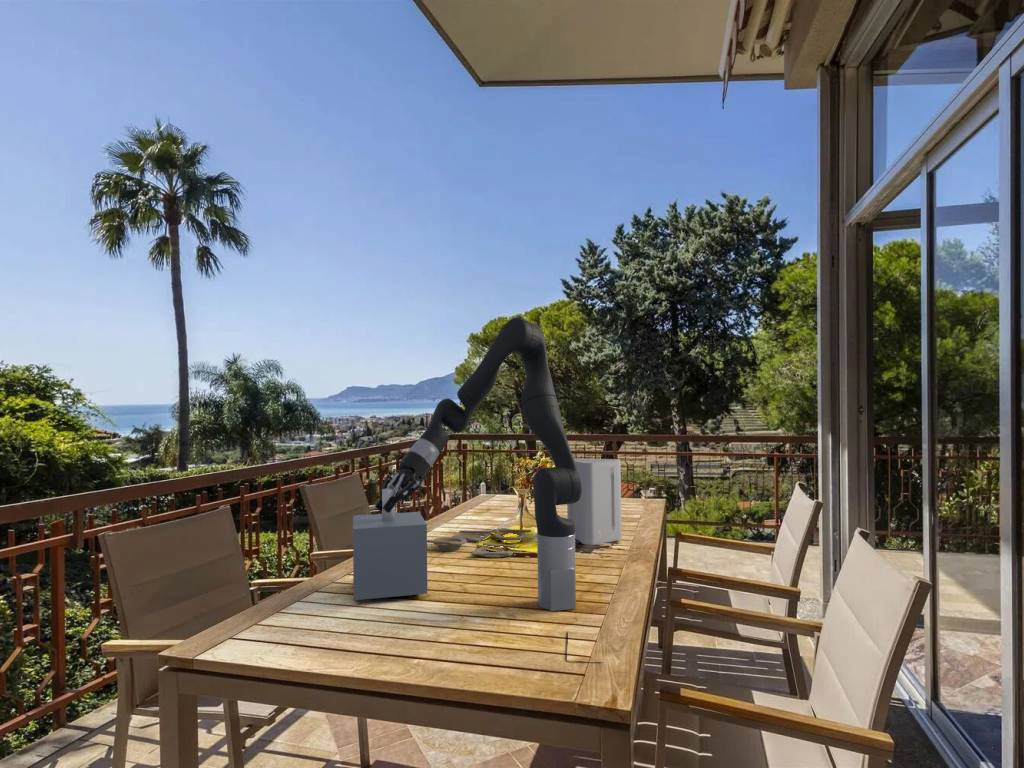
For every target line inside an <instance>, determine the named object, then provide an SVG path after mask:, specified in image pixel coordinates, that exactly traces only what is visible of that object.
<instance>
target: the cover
mask: <svg viewBox="0 0 1024 768" xmlns="http://www.w3.org/2000/svg"><path fill="white" fill-rule="evenodd" d="M394 491H395V488H394V489H392V488H388V489H382V493H381V494H382V495H381V497H382V511H381V513H379V514H378V513H375V514H358V515H353V517H352V553H353V554H352V559H353V563H352V564H353V566H352V567H353V569H352V570H353V572H352V575H353V580H352V583H353V584H352V585H353V586H352V588H353V590H352V591H353V595H352V596H353V601H360V600H371V599H372V600H373V599H383V598H394V597H404V596H414V595H425V594H426V595H427V594H428V543H427V540H428V524H427V522H426V520H425V519H424V517H423V516H422V514H421V512H420V511H415V512H414V511H412V512H411V511H410V512H396V511H395V509H396V508H395V506H396V505H395V506H394V507H393V509H392V510H391V511H390V512H389V513H388V512H386V511H385V510H384V509H383V506H384V505H385V504H386V502H387V501H388V500H389V498H390V497H393V496H392V495H393V493H394Z"/></svg>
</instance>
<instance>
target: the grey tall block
mask: <svg viewBox="0 0 1024 768" xmlns="http://www.w3.org/2000/svg"><path fill="white" fill-rule="evenodd" d="M574 461H575V463H576V466H577V469H578V472H579V475H580V479H581V485H582V493H581V497H580V499H579V501H578V502H576V503H572V504H566V505H567V507H566V508H567V519H570V520H572V521H573V522H574V524H575V539H577V540H579V541H580V542H581V544H583V545H585V546H595V545H601V544H605V543H611V542H614V541H615V542H616V541H620V540H621V539H622V537H623V536H622V535H623V534H622V488H621V486H622V484H621V483H622V480H621V478H622V476H621V475H622V473H621V459H620V458H619V459H618V458H574ZM580 542H579V543H580Z"/></svg>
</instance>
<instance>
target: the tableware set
mask: <svg viewBox="0 0 1024 768" xmlns="http://www.w3.org/2000/svg"><path fill="white" fill-rule="evenodd" d="M492 531H493V530H488V529H486V530H462V529H461V530H459V531H458V533H456V534H454V535H451V536H445V537H442V536H441V537H437V538H435V539H427V544H428V543H429V544H433V545H436V546H437V547H438V549H439V550H440V551H442V552H455V551H458V550H460V549H461V548H462V545H465V544H466V543H467V542H477V543H479V542H478V541H480V542H482V541H481V539H485V538H487V537H488V536H489V534H491V533H492ZM508 533H513V534H517V535H519V536H517V537H504V536H503V535H505V534H508ZM528 533H532V529H511V528H498V531H497V532H496V533H495V534H494V537H495V538H496V539H499V540H500V539H501V540H520V539H522V540H523V539H525V538H527V537H528ZM479 536H484V537H482V538H478V537H479ZM484 545H487V546H494V547H500V546H503V547H510V548H513V549H516V548H517V546H516V545H514V544H505V543H502V544H501V543H492V542H482V546H480V547H478V548H475V549H473V550H472V553H471V555H474V556H478V557H482V558H483V557H484V558H491V559H492V558H493V559H494V558H495V559H496V558H507V557H510V556H513V555H514V554H513V552H489V551H486V548H485V547H486V546H484ZM512 554H513V555H512Z"/></svg>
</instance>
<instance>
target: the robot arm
mask: <svg viewBox="0 0 1024 768" xmlns="http://www.w3.org/2000/svg"><path fill="white" fill-rule="evenodd" d="M512 353H515V354H518V355H520V358H521V359H522V363H523V366H524V371H525V381H524V384H523V387H522V388H523V389H522V391H521V407H522V410H523V414H524V415H523V416H524V419H525V422H526V424H527V427H528V428H529V429H530V431H531V432H532V433H533V435H535V437H536V438H537V439H538V440H539V442H540V443H542V445H543V446H544V447H545V448H546V450H547V451H548V452H549V454H550V456H551V459H552V461H553V464H554V466H552V467H551V466H549V467H541V468H539V469H537V471H536V472H535V474H534V478H533V485H532V486H533V502H534V519H535V523H536V531H537V532H536V533H537V534H536V537H537V538H536V539H537V544H536V545H537V546H536V547H537V551H536V553H537V556H536V557H537V604H538V606H539V607H540V608H543V609H545V610H549V611H550V612H557V611H565V610H576V606H577V594H576V593H577V589H576V588H577V586H576V585H577V584H576V574H577V573H576V540H575V524H574V522H573V521H572V520H570V519H568V518H566V517H563V516H560V515H558V510H557V506H562V505H567V504H572V503H576V502H578V501H579V499H580V497H581V493H582V485H581V479H580V475H579V472H578V469H577V466H576V463H575V461H574V459H575V458H574V455H573V453H572V450H571V446H570V444H569V441H568V437H567V434H566V431H565V428H564V423H563V419H562V415H561V410H560V409H561V408H560V405H559V402H558V398H557V395H556V392H555V387H554V384H553V379H552V374H551V371H550V367H549V361H548V355H547V346H546V339H545V335H544V332H543V330H542V329H541V328H540V327H539V326H538V325H536V324H535V323H532V322H530V321H528V320H526V319H524V318H521V317H513V318H511V319H509V320H508V321H507V322H506V323H505V324H504V325H503V326H502V328H501V330H500V331H499V332H498V334H497V335H496V337H495V339H494V340H493V342H492V344H491V346H490V347H489V349H488V350H487V352H486V354H485V355H484V356H483V359H482V360H481V361H480V363H479V365H477V368H476V369H475V370H474V371H473V373H472V374H471V375H470V376H469V377H468V378H467V380H466V381H465V382H464V383H463V384H462V386H461V387H460V388H459V389H458V391H457V392H456V393H457V394H456V396H457V399H458V400H459V401H460V403H461V404H462V405H463V407H464V408H462V407H461V406H460V405H459V404H458V403H456V401H454V400H452V399H451V398H444V399H441V400H440V401H439V402H438V403H437V405H436V407H435V409H434V411H433V415H432V417H431V421H430V422H429V424H428V426H427V427H426V429H425V430H424V432H423V433H422V434H421V436H420V437H419V439H418V440H417V441H416V442H414V444H413V445H412V446H411V448H409V450H408V451H407V452H406V454H405V456H404V457H403V458H402V459H401V460H400V461H399V465H398V466H399V470H398V471H397V472H396V473H395V474H394V475H393V476H391V475H389V474H388V475H386V476H385V479H384V482H383V484H382V486H381V488H380V490H379V492H380V493H381V494H382V489H388V488H392V489H395V491H394V493H393V495H392V496H393V497H390V498H389V500H388V501H387V502H386V504H385V505H384V506H383V509H384V510H385V511H386V512H388V513H389V512H390V511H391V510H392V509H393V507H394V506H397V503H400V502H401V501H404V502H405V501H406V500H407V499H409V497H411V496H412V495H413V494H414V493H415V492H416V491H417V490H418V489H419V488H420V487H421V484H420V483H419V481H421V480H423V478H424V477H425V475H426V474H427V473H428V472H429V470H430V469H431V467H432V466H433V464H434V463H435V462H436V461H437V458H438V457H439V455H440V454H441V452H442V450H444V448H445V447H446V445H447V444H448V442H449V441H450V437H449V435H448V432H446V430H445V429H444V428H443V426H442V425H444V427H446V428H448V429H449V430H450V431H451V432H452V433H454V434H459V433H462V432H463V431H465V430H466V428H467V427H468V425H469V423H470V421H471V419H472V417H473V414H474V413H475V410H476V409H477V407H478V406H479V405H480V404H481V402H483V400H484V399H485V398H486V397H487V396H488V395H489V393H490V392H491V391H492V390H493V388H494V386H495V383H496V382H497V381H496V380H497V377H498V373H499V370H500V367H501V365H502V364H503V362H504V361H505V360H506V359H507V358H508V357H509V355H511V354H512ZM374 507H375V509H377V510H378V511H380V512H382V496H381V497H380V498H379V500H378V501H377V502H376V504H375V505H374Z"/></svg>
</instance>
